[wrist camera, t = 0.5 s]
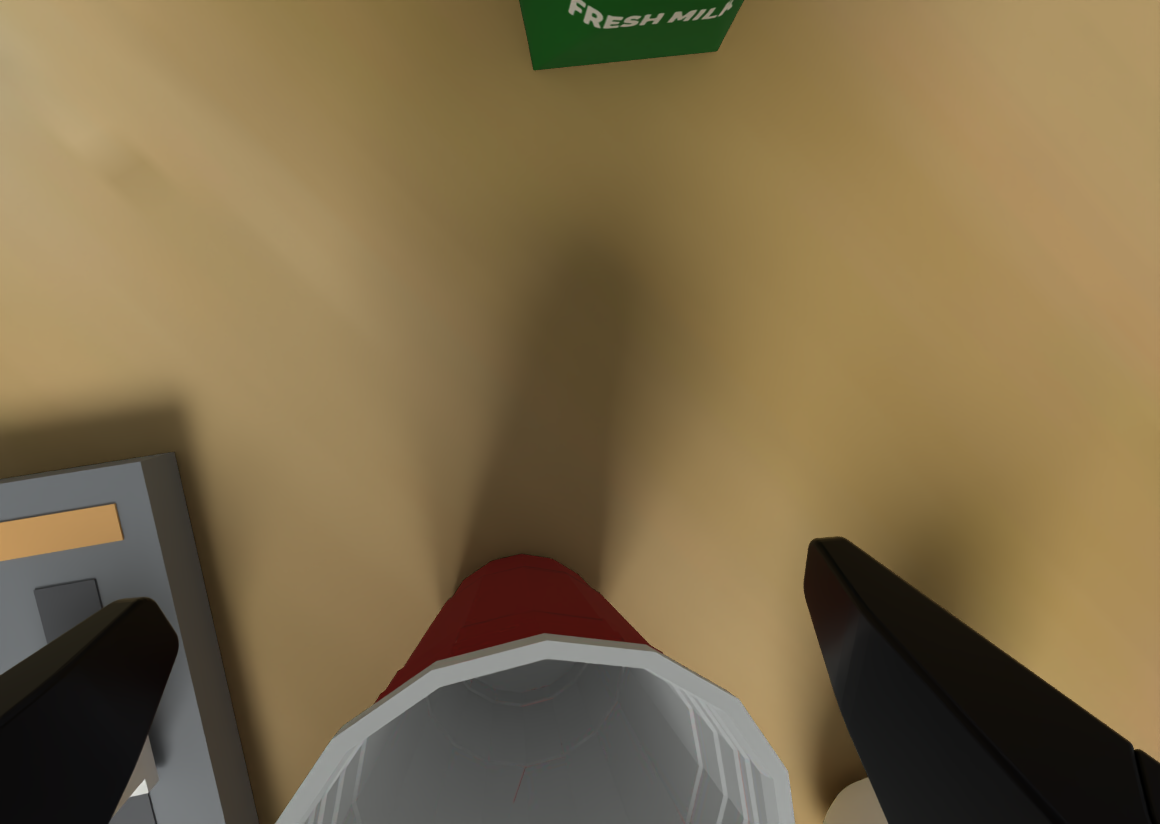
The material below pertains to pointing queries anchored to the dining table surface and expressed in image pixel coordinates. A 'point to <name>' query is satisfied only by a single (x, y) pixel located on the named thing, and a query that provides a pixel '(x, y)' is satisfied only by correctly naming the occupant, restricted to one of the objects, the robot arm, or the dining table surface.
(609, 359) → the dining table surface
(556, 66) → the milk carton
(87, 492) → the breaker panel
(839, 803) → the sauce bottle
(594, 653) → the plastic cup
